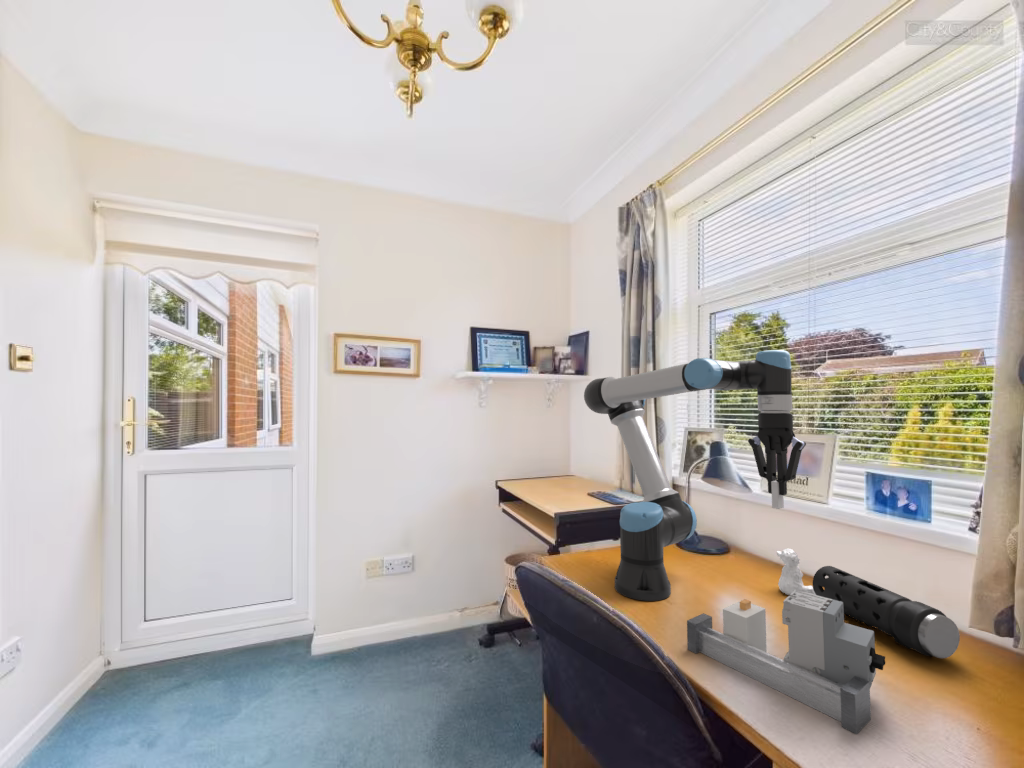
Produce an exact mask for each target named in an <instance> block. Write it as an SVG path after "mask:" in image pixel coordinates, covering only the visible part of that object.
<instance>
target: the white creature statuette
mask: <svg viewBox="0 0 1024 768" xmlns="http://www.w3.org/2000/svg"><path fill="white" fill-rule="evenodd" d="M776 556H777V557H779V560H781V561H782V562H783V564H784V565H783V567H782V569H781V574H780V577H779V580H778V583H777V584H778V587H779V590H780V591H781V592H782V593H783V594H784V593H785V595H788V596H790V594H791V593H792V592H793V591H794V590H796V591H799V592H801V591H802V592H806V593H810V594H814V595H816V594H815V592H814V589H813V585H804V584H805V583H804V582H803V576H804V573H803V572H802V571H801V568H800V566H799V564H800V561H801V559H800V558H799V556H798V554H797V553H796V551H795V550H794V549H792V548H788V547H787V548H784V549H782V551H779V550H776Z"/></svg>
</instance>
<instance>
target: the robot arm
mask: <svg viewBox="0 0 1024 768" xmlns="http://www.w3.org/2000/svg"><path fill="white" fill-rule="evenodd" d="M705 390H716V391H734V390H737V391H739V390H740V391H741V390H757V411H759V413H758V414H757V425H758V431H757V433H756V434H757V435H756V436H754V437H753V438H749V439H748V440H747V442H748V444H749V446H750V447H751V448H752V452H753V455H754V459H755V460H754V461H755V463H756V467H757V472H758V476H759V477H760V478H764V479H766V480H767V481H766V482H767V491H768V494H771V508H772V509H776V510H777V509H778V510H780V509H784V507H785V505H784V496H786V495H787V494H788V481H792V480H793V481H794V480H795V479H796V476H797V473H798V467H799V464H800V459H801V455H802V451H803V449H804V448H805V447H806V446H807V443H806V441H801V440H800V439H798V438H797V437H796V434H795V432H794V418H793V417H794V415H793V413H791V412H792V411H793V410H794V409H793V391H792V390H793V389H792V362H791V354H790V352H789V351H787V350H783V349H771V350H770V349H769V350H763V351H758V352H756V355H755V359H752V360H741V361H739V360H738V361H732V360H731V361H729V360H721V359H715V358H714V359H713V358H710V357H701V358H700V357H698V358H695V359H692V360H691V361H690V362H688V363H683V364H679V365H673V366H669V367H664V368H660V369H655V370H652V371H646V372H642V373H637V374H636V373H635V374H632V375H627V376H623V377H618V378H615V377H613V376H608V377H602V378H599V377H598V378H595V379H594V380H591V381H590V382H589V383H588V384H587V385H586V387H585V389H584V392H583V398H584V402H585V404H586V406H587V407H588V409H590V410H591V411H592V412H593V413H597V414H601V415H608V418H609V420H610V423H611V424H612V425H614V426H616V427H617V429H618V431H619V434H620V436H621V439H622V442H623V444H624V446H625V447H624V448H625V450H626V452H627V455H628V457H629V461H630V463H631V466H632V467H633V471H634V473H635V475H636V479H637V481H638V483H639V487H640V489H641V492H642V494H643V499H642V501H640V502H631V503H628V504H626V505H624V506H623V507H622V508H621V509H620V516H619V520H618V521H619V537H620V538H619V539H620V547H619V548H620V560H619V564H618V568H617V572H616V575H615V577H614V589H615V591H616V592H617V593H618V594H620V595H622V596H623V597H627V598H630V599H633V600H637V601H645V602H653V601H657V602H658V601H661V600H665V599H668V598H669V597H670V596H671V594H672V591H671V589H672V588H671V582H670V580H669V577H668V573H667V570H666V567H665V564H664V561H665V560H664V548H666V547H668V546H672V545H675V544H679V543H683V542H685V541H686V540H688V539H689V538H691V537H692V536H693V535H694V533H695V532H696V529H697V524H698V523H697V522H698V521H697V520H698V519H697V515H696V512H695V510H694V508H693V507H692V506H691V505H690V504H689V503H687V502H686V501H684V500H682V498H681V494H680V492H679V491H677V490H675V489H673V488H672V486H671V485H670V484H671V483H670V482H669V480H668V477H667V474H666V472H665V469H664V467H663V465H662V464H663V463H662V462H661V460H660V456H659V455H658V452H657V449H656V447H655V444H654V442H653V439H652V437H651V435H650V432H649V430H648V427H647V425H646V423H645V420H644V415H645V413H646V409H645V405H646V403H645V402H646V400H648V399H654V398H661V397H667V396H673V395H679V394H685V393H691V392H698V391H699V392H701V391H705ZM761 444H762V445H763V446H764V450H763V447H762V445H761ZM790 445H791V447H792V448H791V451H790V454H789V460H788V455H787V454H788V451H789V450H788V448H789V447H790ZM764 453H765V455H764Z"/></svg>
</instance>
